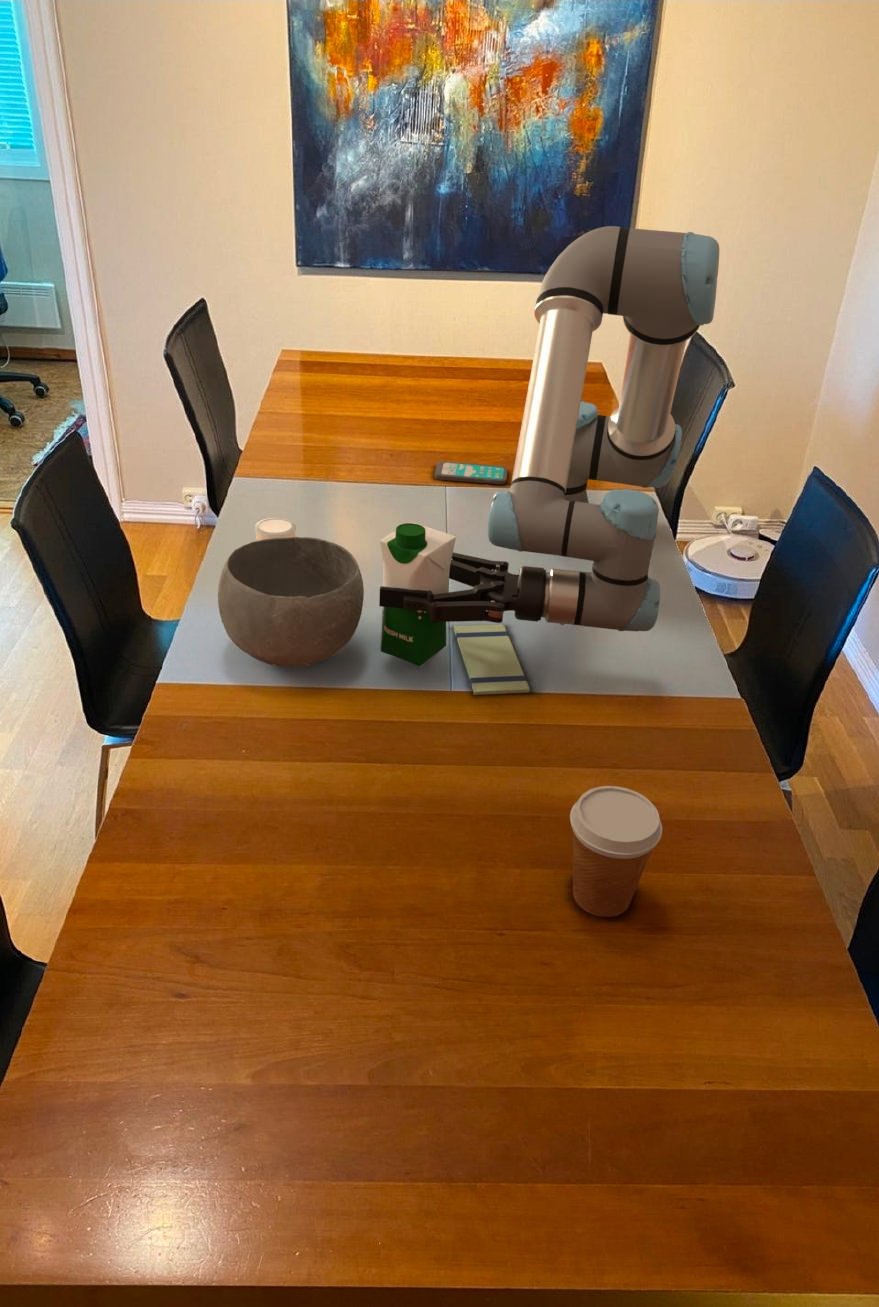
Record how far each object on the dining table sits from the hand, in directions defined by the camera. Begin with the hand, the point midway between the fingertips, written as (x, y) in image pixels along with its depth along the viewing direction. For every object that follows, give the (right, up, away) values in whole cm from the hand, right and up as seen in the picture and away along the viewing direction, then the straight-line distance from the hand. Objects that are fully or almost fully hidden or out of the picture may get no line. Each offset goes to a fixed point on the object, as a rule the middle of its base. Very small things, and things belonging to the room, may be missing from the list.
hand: (385, 579), depth 139 cm
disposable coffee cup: (+25, -37, -31) cm, 54 cm away
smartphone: (+14, +27, +69) cm, 76 cm away
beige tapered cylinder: (-20, +5, +31) cm, 38 cm away
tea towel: (+15, -11, +9) cm, 21 cm away
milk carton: (+4, -10, +6) cm, 12 cm away
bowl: (-14, -10, +8) cm, 19 cm away
